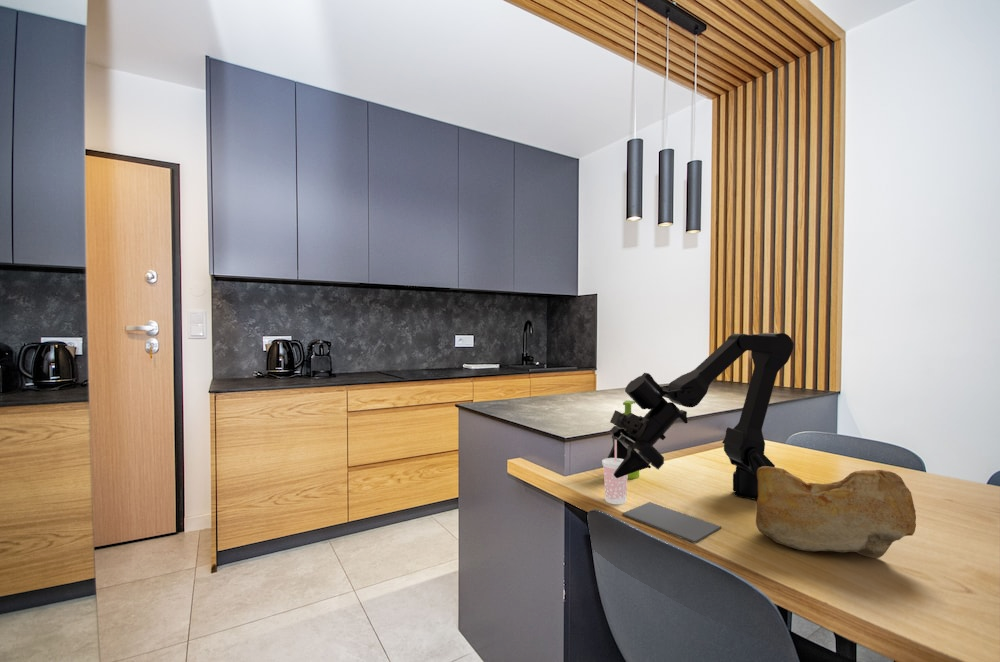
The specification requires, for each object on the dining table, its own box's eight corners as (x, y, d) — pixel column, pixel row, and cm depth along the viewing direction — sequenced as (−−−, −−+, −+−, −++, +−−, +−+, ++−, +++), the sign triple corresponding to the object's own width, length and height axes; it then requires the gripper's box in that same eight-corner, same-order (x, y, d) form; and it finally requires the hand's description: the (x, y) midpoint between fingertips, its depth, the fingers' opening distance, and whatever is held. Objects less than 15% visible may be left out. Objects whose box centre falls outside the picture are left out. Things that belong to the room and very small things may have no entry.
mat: (721, 528, 87) (721, 526, 87) (695, 543, 81) (695, 541, 81) (649, 503, 100) (649, 501, 100) (622, 514, 94) (622, 513, 94)
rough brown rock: (890, 540, 85) (884, 460, 86) (928, 575, 70) (921, 478, 71) (750, 521, 94) (747, 450, 96) (758, 549, 80) (754, 464, 81)
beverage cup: (616, 494, 106) (616, 435, 106) (635, 502, 101) (635, 441, 101) (596, 498, 103) (596, 438, 103) (614, 507, 98) (614, 444, 98)
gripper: (617, 393, 112) (574, 438, 110) (650, 405, 93) (599, 459, 92) (647, 424, 112) (605, 468, 111) (685, 442, 94) (635, 496, 93)
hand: (609, 472), depth 102 cm, fingers closed on beverage cup, 6 cm apart
